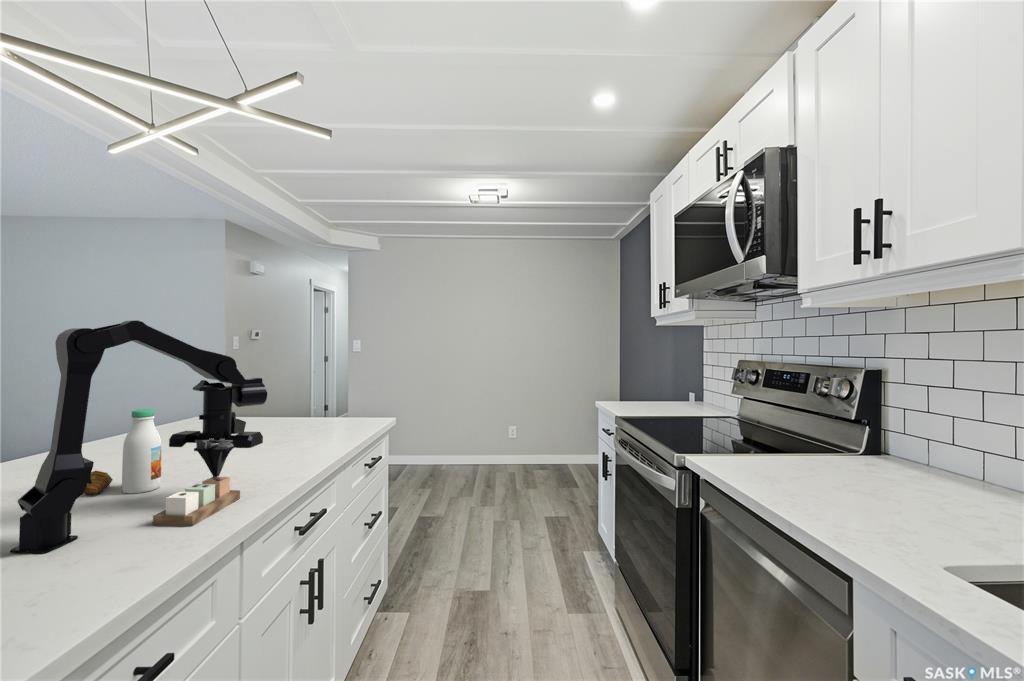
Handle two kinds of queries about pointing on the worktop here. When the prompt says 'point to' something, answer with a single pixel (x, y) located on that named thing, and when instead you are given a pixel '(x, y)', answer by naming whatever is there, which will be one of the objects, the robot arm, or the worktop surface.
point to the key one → (182, 503)
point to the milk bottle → (141, 454)
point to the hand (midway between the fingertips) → (216, 476)
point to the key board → (196, 512)
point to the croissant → (98, 483)
